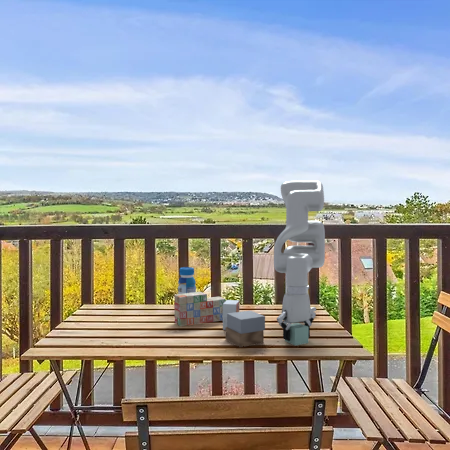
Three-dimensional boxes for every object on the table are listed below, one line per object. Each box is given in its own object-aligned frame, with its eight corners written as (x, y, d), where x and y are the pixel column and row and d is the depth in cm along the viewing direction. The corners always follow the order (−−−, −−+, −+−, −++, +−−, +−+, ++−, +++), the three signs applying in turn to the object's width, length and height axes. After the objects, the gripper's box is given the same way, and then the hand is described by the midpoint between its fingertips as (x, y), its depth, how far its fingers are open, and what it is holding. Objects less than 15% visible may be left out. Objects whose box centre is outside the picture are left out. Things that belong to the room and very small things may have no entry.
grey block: (250, 323, 173) (250, 310, 173) (264, 330, 164) (265, 316, 164) (227, 327, 168) (227, 313, 168) (240, 333, 160) (240, 319, 159)
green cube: (297, 338, 170) (298, 322, 170) (308, 343, 165) (308, 326, 164) (284, 341, 167) (284, 324, 167) (295, 345, 162) (295, 328, 161)
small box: (236, 330, 180) (236, 304, 180) (222, 330, 181) (222, 303, 181) (239, 325, 188) (239, 300, 188) (226, 324, 189) (226, 299, 189)
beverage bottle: (195, 312, 210) (195, 269, 209) (177, 312, 211) (176, 269, 210) (196, 308, 219) (196, 266, 218) (179, 308, 219) (178, 266, 218)
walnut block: (248, 336, 173) (248, 323, 173) (263, 343, 165) (263, 329, 164) (225, 340, 169) (225, 327, 168) (239, 347, 160) (239, 333, 160)
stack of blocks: (219, 317, 203) (219, 289, 202) (226, 320, 197) (226, 291, 197) (174, 323, 193) (174, 294, 192) (179, 326, 187) (179, 296, 187)
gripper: (308, 286, 172) (308, 332, 173) (270, 290, 164) (270, 339, 165) (322, 289, 166) (322, 337, 167) (283, 294, 157) (283, 344, 158)
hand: (296, 337), depth 166 cm, fingers open, 8 cm apart
